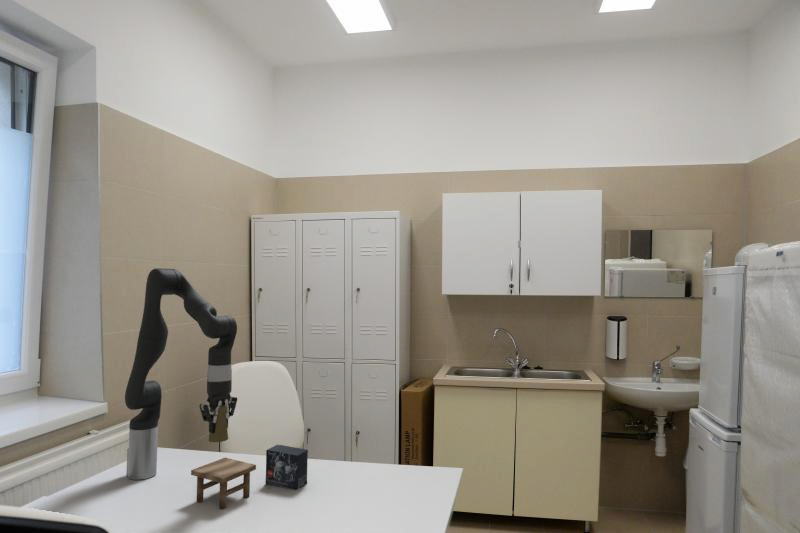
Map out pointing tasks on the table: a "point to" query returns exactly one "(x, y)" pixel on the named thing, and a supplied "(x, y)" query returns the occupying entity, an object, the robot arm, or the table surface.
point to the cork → (220, 426)
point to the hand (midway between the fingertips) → (218, 432)
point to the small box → (286, 467)
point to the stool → (223, 478)
